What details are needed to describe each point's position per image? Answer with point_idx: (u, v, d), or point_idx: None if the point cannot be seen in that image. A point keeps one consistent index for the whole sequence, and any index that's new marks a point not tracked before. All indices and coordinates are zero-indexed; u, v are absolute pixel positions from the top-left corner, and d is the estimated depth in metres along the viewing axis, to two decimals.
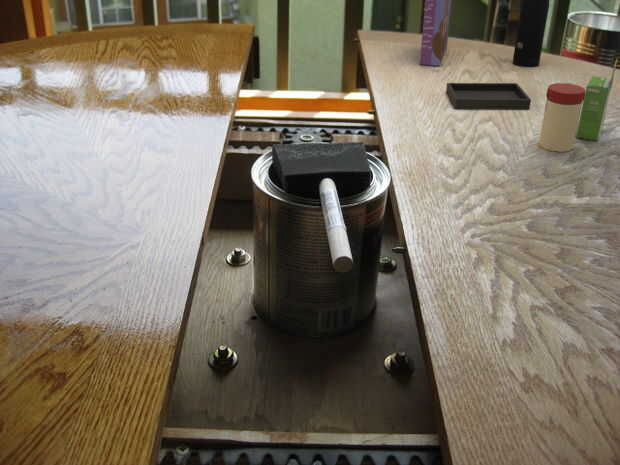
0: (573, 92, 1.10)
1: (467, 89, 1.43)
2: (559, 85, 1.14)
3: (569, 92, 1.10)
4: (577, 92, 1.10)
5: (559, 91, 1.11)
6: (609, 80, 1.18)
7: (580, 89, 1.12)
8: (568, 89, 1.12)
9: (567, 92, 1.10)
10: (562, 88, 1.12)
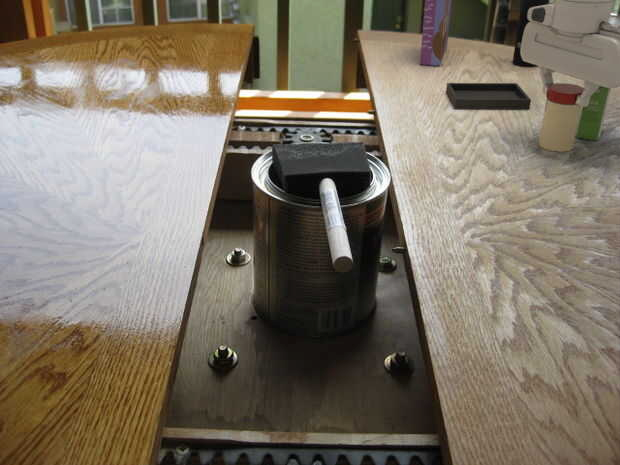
0: (573, 92, 1.10)
1: (467, 89, 1.43)
2: (559, 85, 1.14)
3: (569, 92, 1.10)
4: (577, 92, 1.10)
5: (559, 91, 1.11)
6: None
7: (580, 89, 1.12)
8: (568, 89, 1.12)
9: (567, 92, 1.10)
10: (562, 88, 1.12)
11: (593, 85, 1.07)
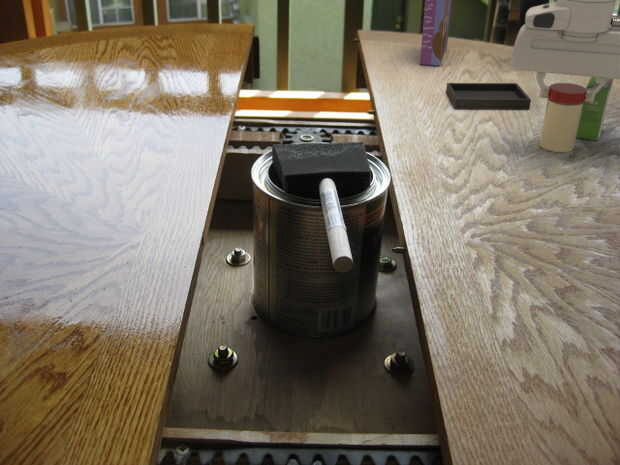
0: (582, 91, 1.11)
1: (467, 89, 1.43)
2: (556, 86, 1.13)
3: (580, 91, 1.10)
4: (583, 90, 1.11)
5: (572, 92, 1.10)
6: (609, 80, 1.18)
7: (577, 86, 1.13)
8: (572, 88, 1.12)
9: (579, 92, 1.10)
10: (566, 89, 1.12)
11: None
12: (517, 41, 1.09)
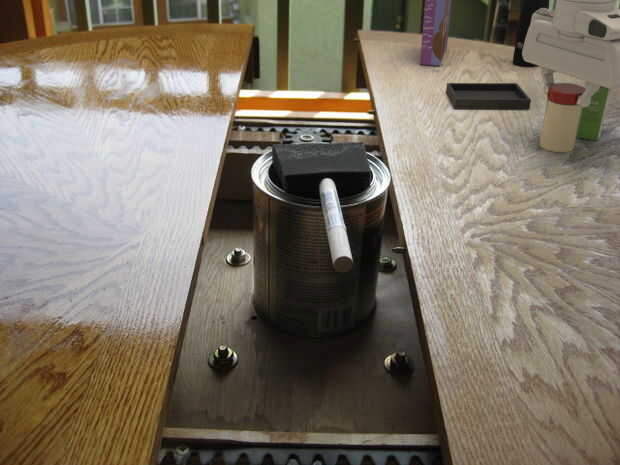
0: (561, 83, 1.14)
1: (467, 89, 1.43)
2: (575, 91, 1.11)
3: (565, 84, 1.14)
4: (557, 84, 1.14)
5: (574, 85, 1.14)
6: None
7: (554, 87, 1.13)
8: (565, 87, 1.13)
9: (566, 84, 1.14)
10: (571, 88, 1.12)
11: None
12: None
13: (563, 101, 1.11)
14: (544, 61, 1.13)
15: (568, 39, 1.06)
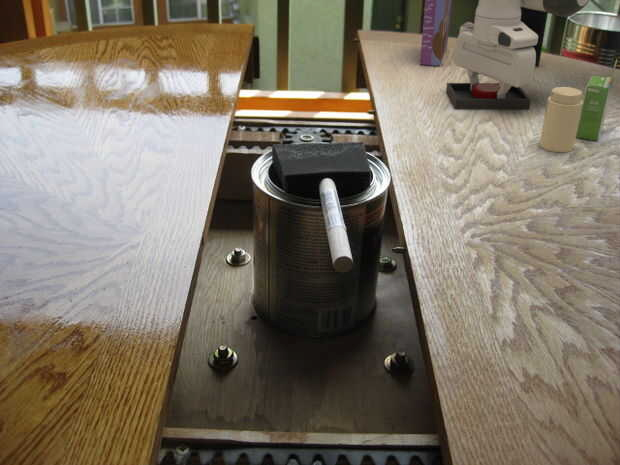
0: (484, 83, 1.40)
1: (467, 89, 1.43)
2: (493, 89, 1.36)
3: (486, 83, 1.40)
4: (480, 83, 1.40)
5: (494, 84, 1.39)
6: (609, 80, 1.18)
7: (477, 86, 1.38)
8: (486, 86, 1.38)
9: (488, 83, 1.40)
10: (491, 86, 1.38)
11: None
12: (535, 60, 1.28)
13: (483, 98, 1.36)
14: (469, 65, 1.39)
15: (484, 47, 1.32)
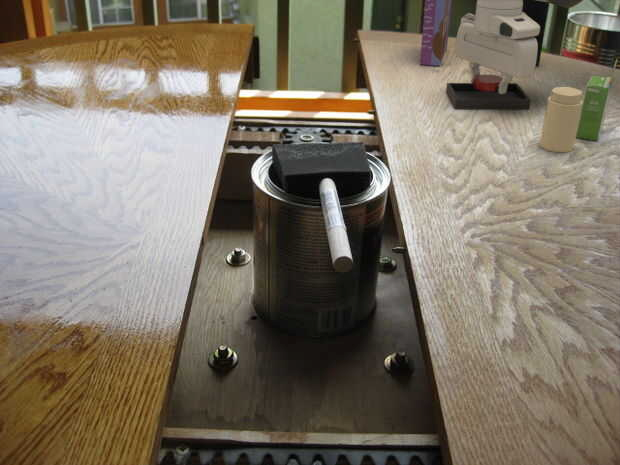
0: (485, 75, 1.39)
1: (467, 89, 1.43)
2: (494, 80, 1.35)
3: (488, 75, 1.39)
4: (481, 75, 1.39)
5: (495, 76, 1.38)
6: (609, 80, 1.18)
7: (478, 77, 1.37)
8: (488, 77, 1.37)
9: (489, 75, 1.39)
10: (492, 78, 1.37)
11: None
12: (537, 50, 1.27)
13: (484, 89, 1.35)
14: (470, 57, 1.38)
15: (486, 38, 1.31)
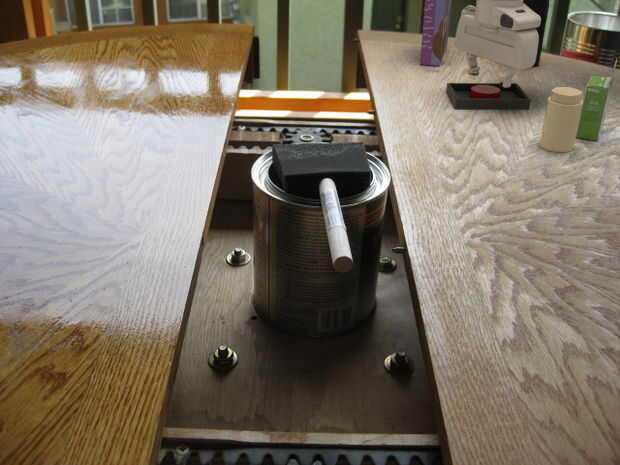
0: (482, 85, 1.41)
1: (467, 89, 1.43)
2: (491, 91, 1.37)
3: (484, 85, 1.40)
4: (478, 85, 1.40)
5: (492, 86, 1.40)
6: (609, 80, 1.18)
7: (474, 88, 1.39)
8: (484, 88, 1.39)
9: (486, 85, 1.40)
10: (488, 89, 1.38)
11: None
12: None
13: None
14: (471, 49, 1.37)
15: (486, 30, 1.30)
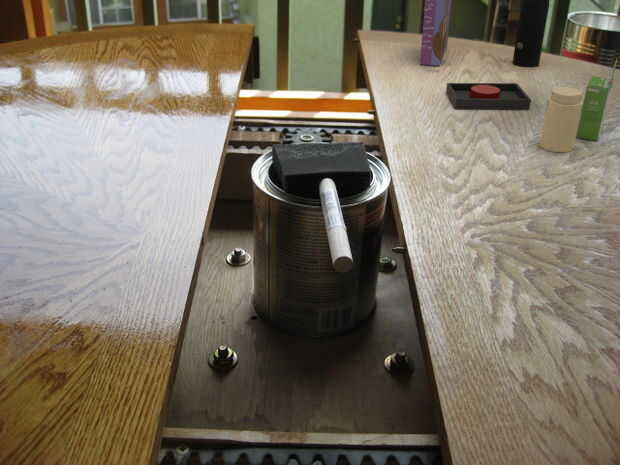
0: (482, 85, 1.41)
1: (467, 89, 1.43)
2: (491, 91, 1.37)
3: (484, 85, 1.40)
4: (478, 85, 1.40)
5: (492, 86, 1.40)
6: (609, 80, 1.18)
7: (474, 88, 1.39)
8: (484, 88, 1.39)
9: (486, 85, 1.40)
10: (488, 89, 1.38)
11: None
12: None
13: None
14: None
15: None
